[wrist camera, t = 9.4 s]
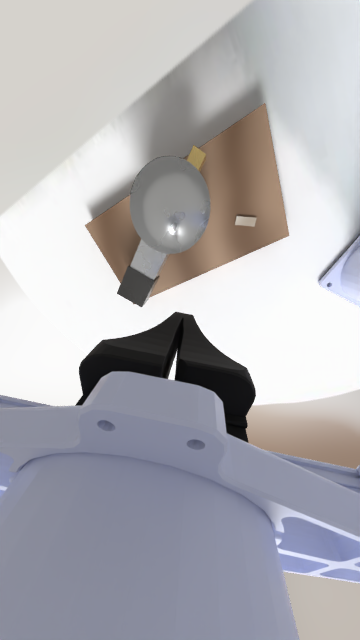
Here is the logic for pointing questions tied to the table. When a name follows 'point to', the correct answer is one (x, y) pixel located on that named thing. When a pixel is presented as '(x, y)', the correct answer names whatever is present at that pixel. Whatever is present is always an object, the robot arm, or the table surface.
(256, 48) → the table surface
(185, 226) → the silver saucepan
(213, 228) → the mounting board
